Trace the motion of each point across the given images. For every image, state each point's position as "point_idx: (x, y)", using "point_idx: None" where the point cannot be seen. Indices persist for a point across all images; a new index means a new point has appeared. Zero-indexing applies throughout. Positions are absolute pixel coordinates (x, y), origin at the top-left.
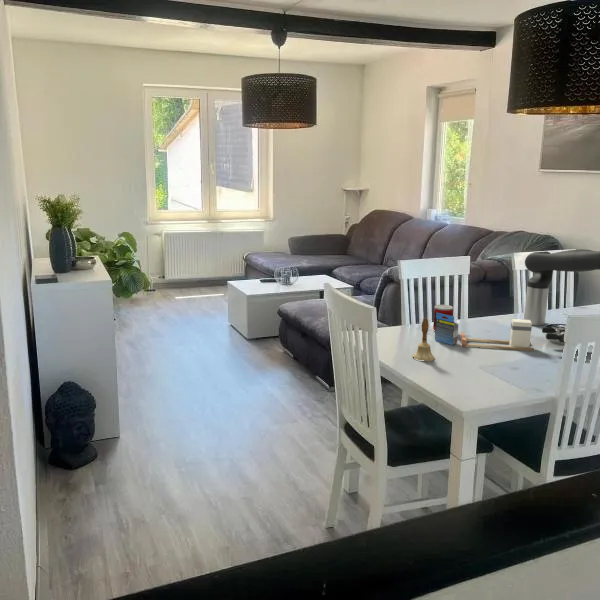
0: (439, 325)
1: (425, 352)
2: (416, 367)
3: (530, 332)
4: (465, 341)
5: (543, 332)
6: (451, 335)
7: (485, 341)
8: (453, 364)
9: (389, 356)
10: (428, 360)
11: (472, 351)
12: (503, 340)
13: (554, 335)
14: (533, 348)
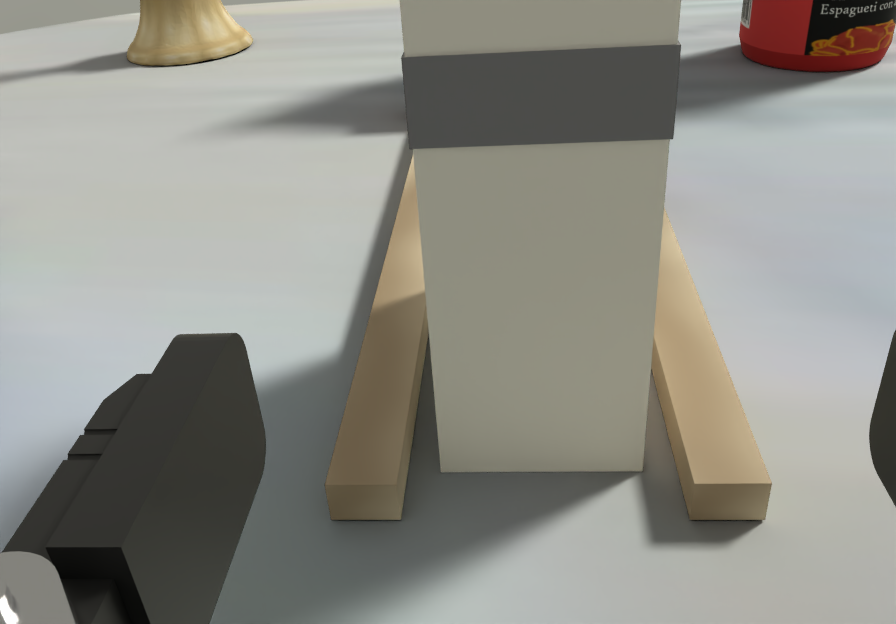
0: None
1: (140, 5)
2: (51, 48)
3: (418, 178)
4: None
5: (884, 464)
6: None
7: None
8: (44, 102)
9: (229, 10)
10: (127, 53)
11: (309, 141)
12: (668, 241)
13: (67, 505)
14: (350, 477)
